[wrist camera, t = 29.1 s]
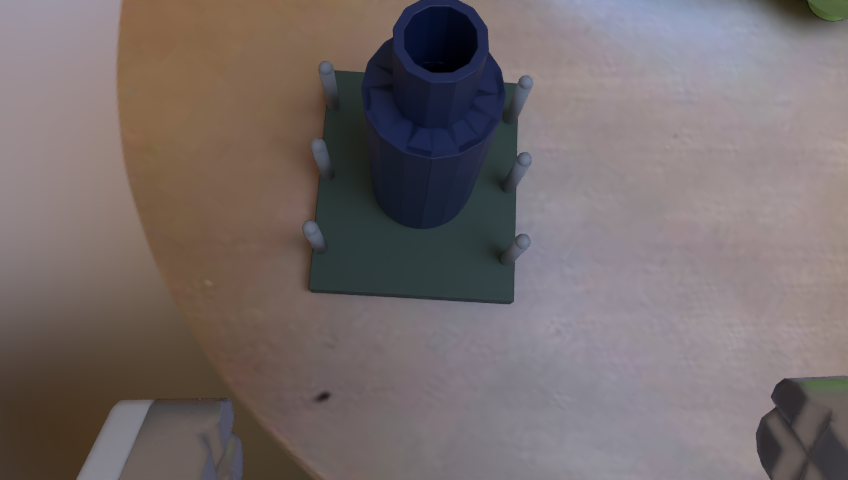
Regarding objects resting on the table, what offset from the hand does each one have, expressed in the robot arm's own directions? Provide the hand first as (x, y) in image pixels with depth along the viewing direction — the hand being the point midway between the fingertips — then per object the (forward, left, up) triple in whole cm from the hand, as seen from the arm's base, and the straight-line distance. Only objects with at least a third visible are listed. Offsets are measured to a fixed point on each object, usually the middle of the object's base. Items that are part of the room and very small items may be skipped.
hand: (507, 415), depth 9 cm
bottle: (+12, +1, -26) cm, 29 cm away
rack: (+12, +1, -27) cm, 30 cm away
